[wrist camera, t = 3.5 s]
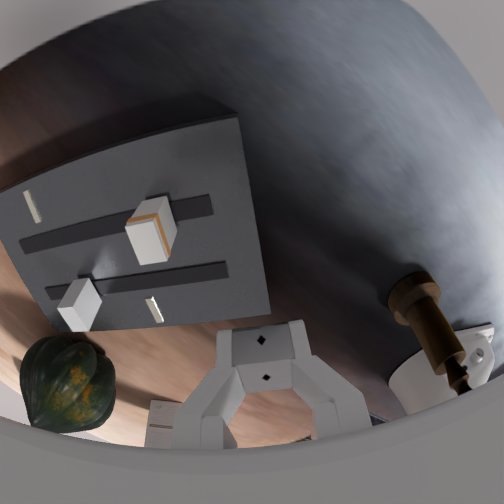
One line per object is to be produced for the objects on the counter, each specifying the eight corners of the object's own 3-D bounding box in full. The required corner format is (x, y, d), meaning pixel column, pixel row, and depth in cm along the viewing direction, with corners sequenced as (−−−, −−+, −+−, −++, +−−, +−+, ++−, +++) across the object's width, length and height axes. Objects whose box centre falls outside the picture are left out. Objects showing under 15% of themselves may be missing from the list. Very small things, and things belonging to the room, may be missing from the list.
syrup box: (150, 398, 43) (138, 476, 31) (184, 402, 44) (177, 482, 31) (155, 412, 46) (146, 483, 34) (187, 416, 47) (182, 488, 35)
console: (237, 112, 21) (237, 117, 18) (268, 293, 31) (271, 315, 28) (0, 189, 22) (-18, 202, 19) (65, 315, 32) (56, 333, 29)
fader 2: (167, 194, 21) (153, 220, 17) (178, 231, 22) (168, 261, 19) (141, 200, 21) (123, 226, 17) (153, 236, 22) (139, 266, 19)
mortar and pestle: (427, 305, 34) (486, 420, 19) (384, 318, 34) (436, 445, 19) (436, 265, 30) (516, 388, 15) (390, 277, 30) (461, 418, 15)
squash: (150, 411, 35) (71, 453, 21) (93, 417, 39) (26, 444, 25) (113, 317, 38) (23, 330, 23) (63, 340, 42) (-8, 352, 28)
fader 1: (88, 277, 25) (72, 306, 21) (102, 301, 26) (88, 331, 23) (73, 280, 25) (56, 308, 21) (86, 303, 26) (72, 331, 23)
